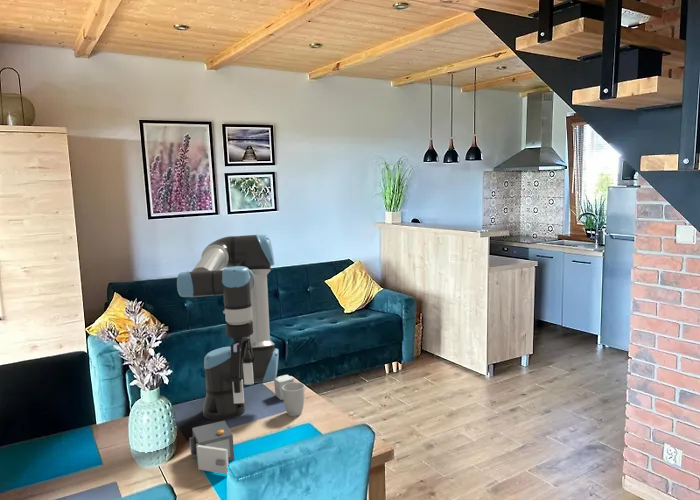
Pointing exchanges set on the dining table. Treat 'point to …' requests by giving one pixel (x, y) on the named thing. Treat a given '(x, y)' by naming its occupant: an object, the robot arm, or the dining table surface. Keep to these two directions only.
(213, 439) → the grey boxy piece
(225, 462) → the side door
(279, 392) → the skincare box
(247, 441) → the dining table surface
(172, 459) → the dining table surface
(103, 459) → the dining table surface
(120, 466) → the dining table surface
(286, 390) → the cup
